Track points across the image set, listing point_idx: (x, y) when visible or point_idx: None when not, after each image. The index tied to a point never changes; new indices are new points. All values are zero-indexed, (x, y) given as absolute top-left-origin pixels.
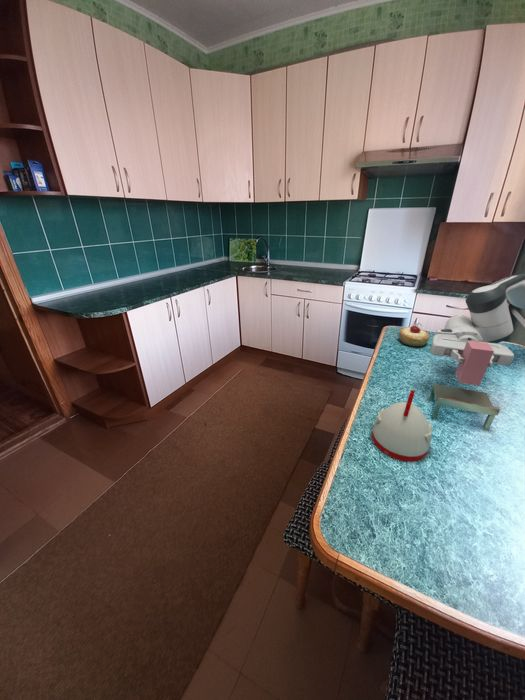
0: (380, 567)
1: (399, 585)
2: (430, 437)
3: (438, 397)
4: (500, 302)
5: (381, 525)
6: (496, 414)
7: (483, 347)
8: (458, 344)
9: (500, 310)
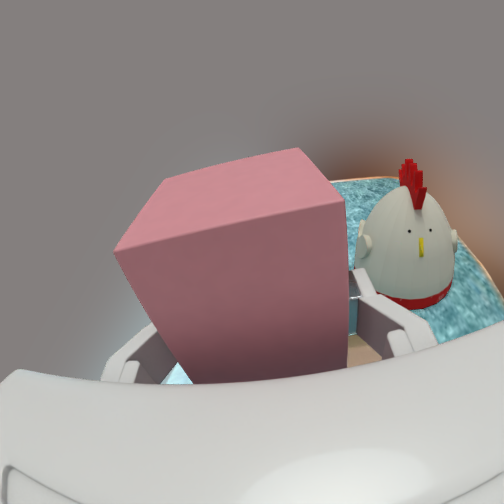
0: (355, 181)
1: (341, 181)
2: (357, 237)
3: (375, 354)
4: None
5: (367, 194)
6: None
7: (211, 177)
8: (416, 446)
9: None
